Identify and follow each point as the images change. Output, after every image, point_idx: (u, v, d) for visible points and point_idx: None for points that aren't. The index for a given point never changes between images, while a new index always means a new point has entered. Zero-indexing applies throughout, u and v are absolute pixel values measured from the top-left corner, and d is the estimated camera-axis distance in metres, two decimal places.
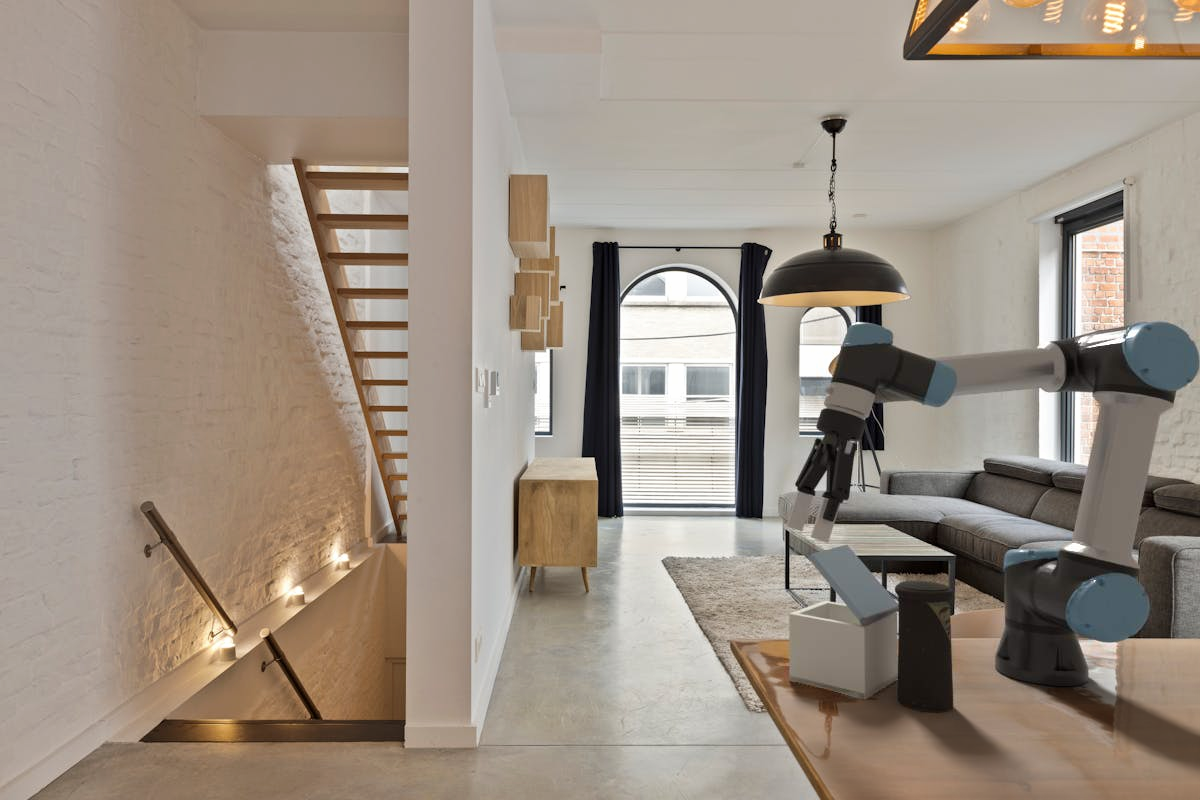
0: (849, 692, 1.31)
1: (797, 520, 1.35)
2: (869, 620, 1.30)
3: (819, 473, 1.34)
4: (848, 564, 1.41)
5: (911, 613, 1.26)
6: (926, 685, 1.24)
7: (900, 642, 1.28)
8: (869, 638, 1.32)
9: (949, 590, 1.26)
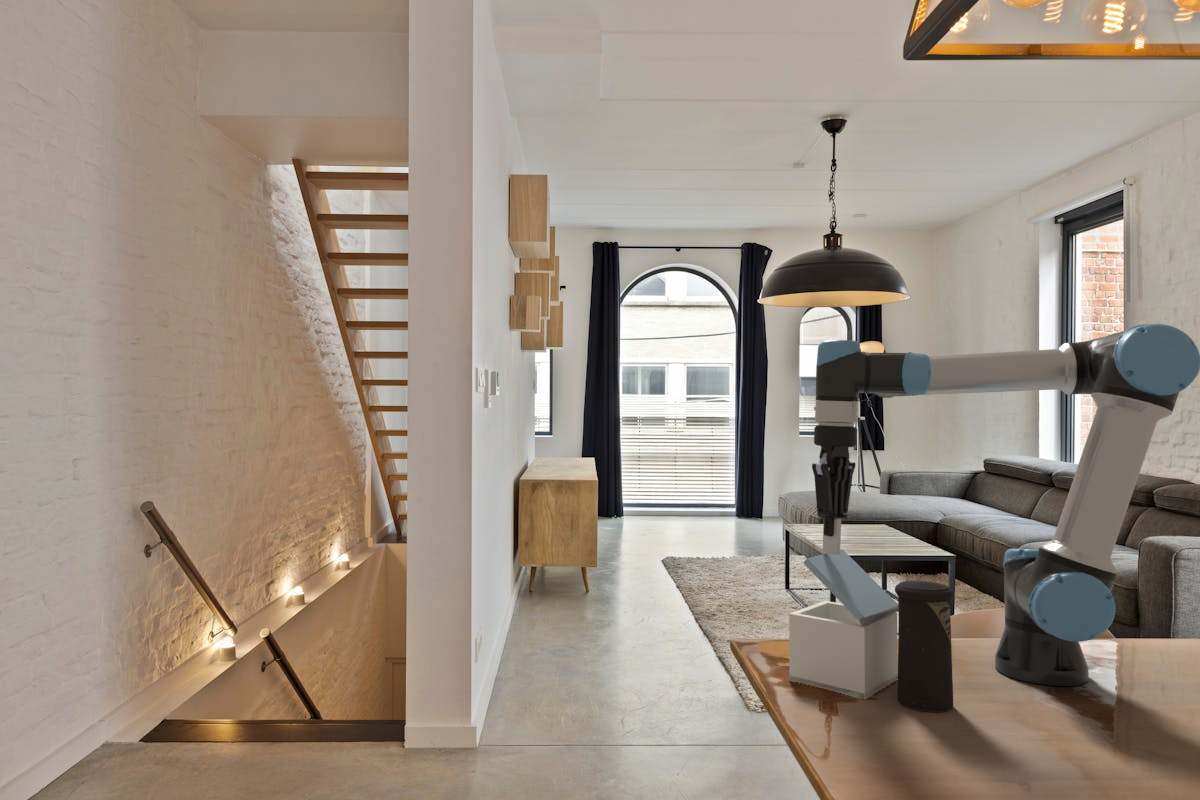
0: (849, 692, 1.31)
1: None
2: (869, 620, 1.30)
3: None
4: (845, 567, 1.42)
5: (911, 613, 1.26)
6: (926, 685, 1.24)
7: (900, 642, 1.28)
8: (869, 638, 1.32)
9: (949, 590, 1.26)
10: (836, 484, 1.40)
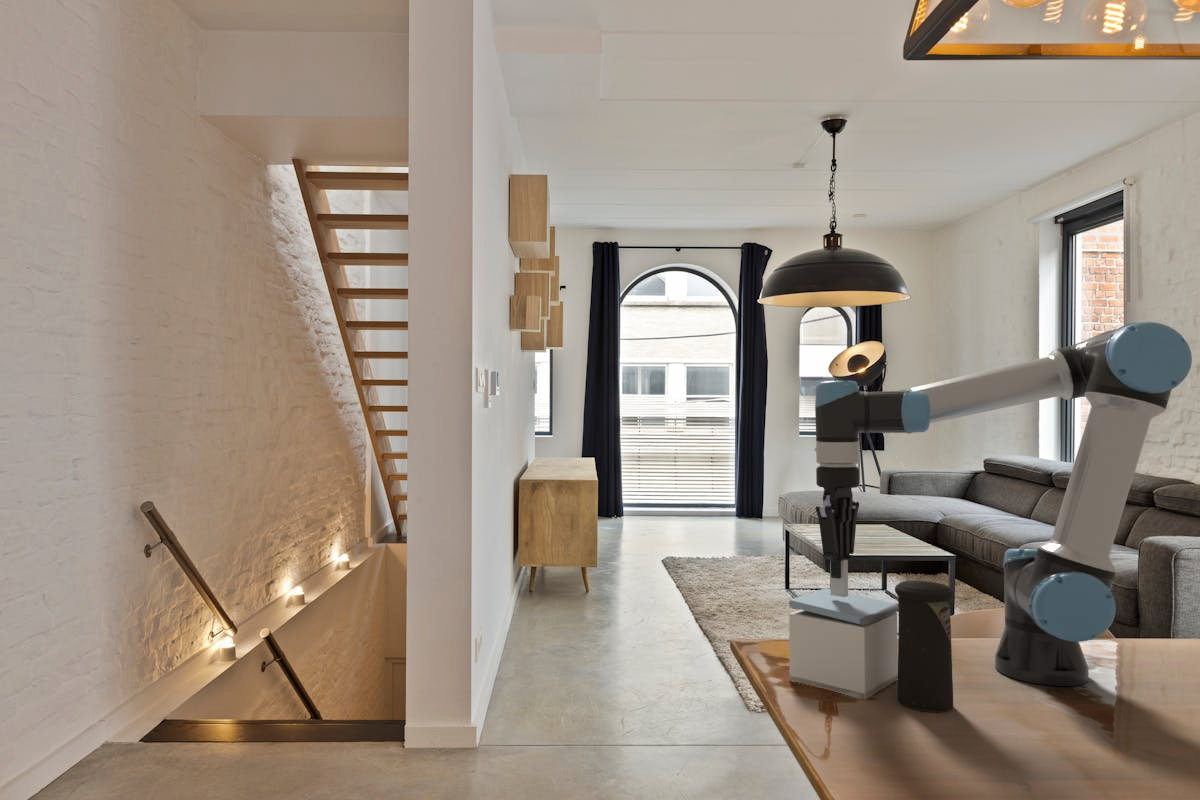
0: (849, 692, 1.31)
1: None
2: (867, 617, 1.30)
3: None
4: (831, 596, 1.43)
5: (911, 613, 1.26)
6: (926, 685, 1.24)
7: (900, 642, 1.28)
8: (869, 638, 1.32)
9: (949, 590, 1.26)
10: (841, 525, 1.39)
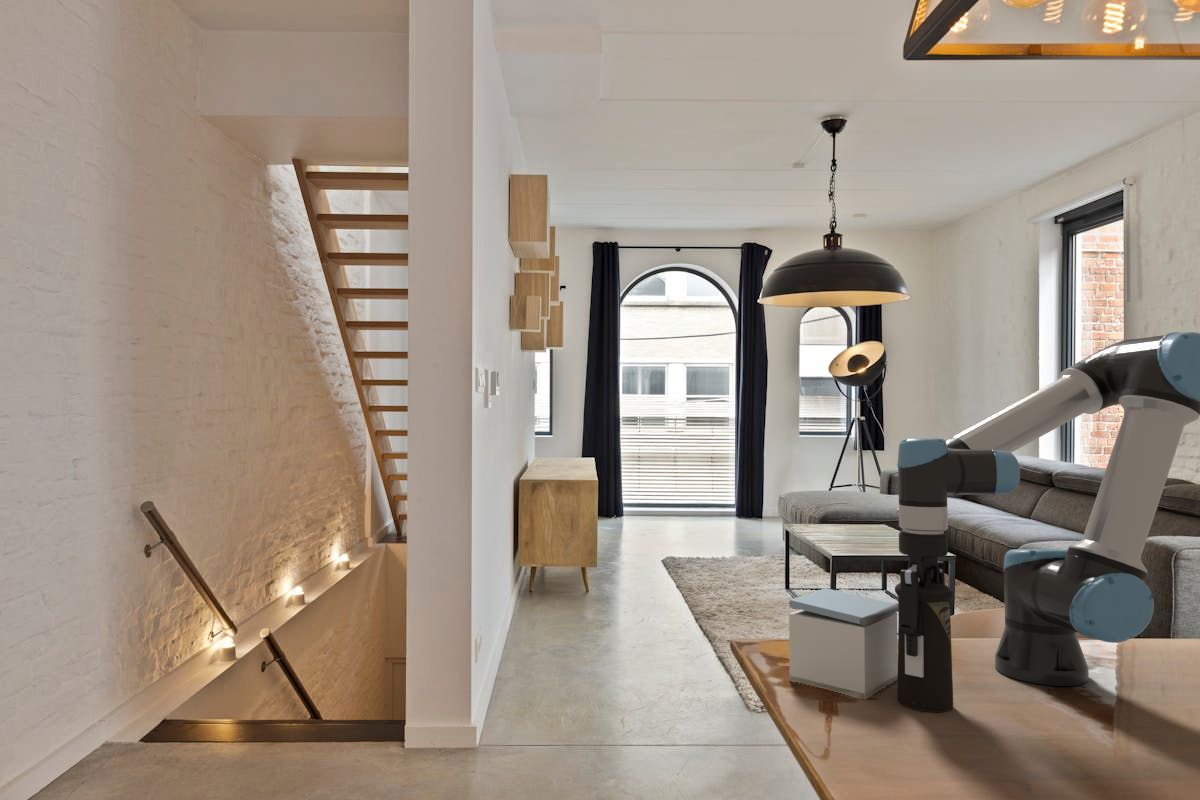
0: (849, 692, 1.31)
1: None
2: (867, 617, 1.30)
3: None
4: (831, 596, 1.43)
5: None
6: (926, 685, 1.24)
7: (900, 642, 1.28)
8: (869, 638, 1.32)
9: (949, 590, 1.26)
10: None
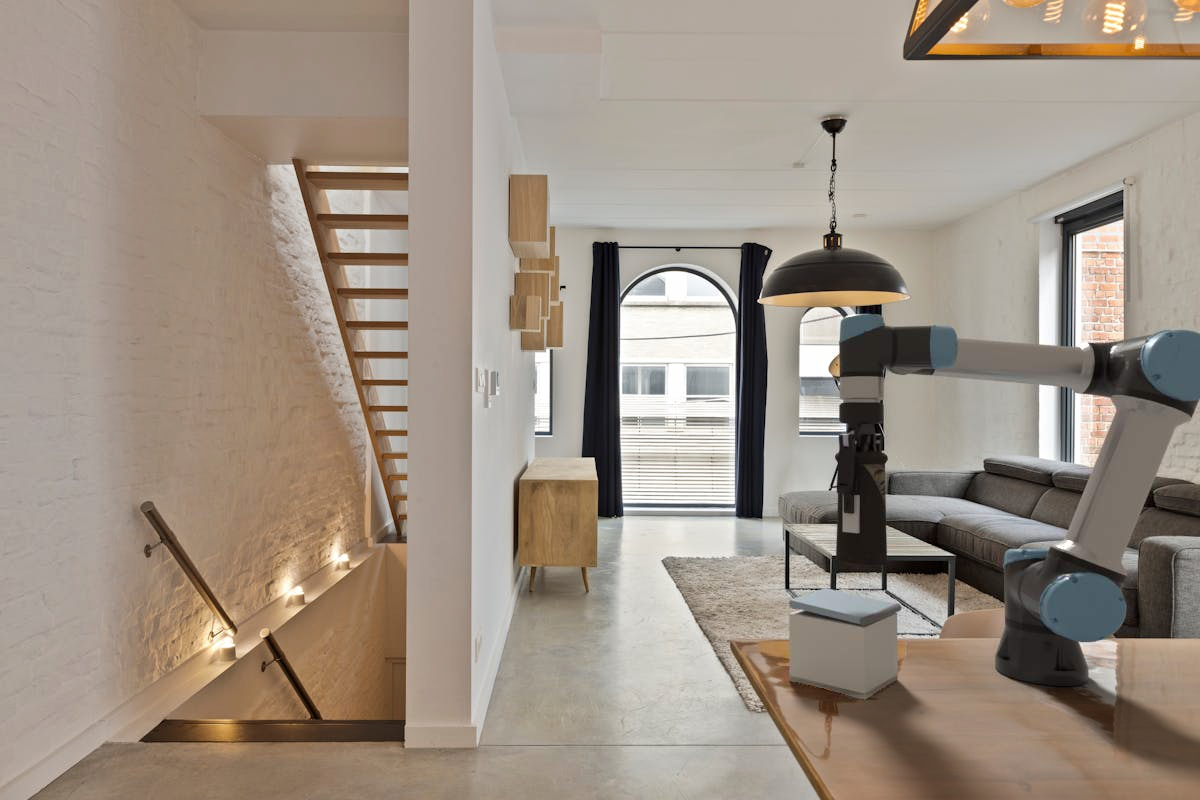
0: (849, 692, 1.31)
1: None
2: (867, 617, 1.30)
3: None
4: (831, 596, 1.43)
5: None
6: (861, 541, 1.34)
7: (839, 504, 1.37)
8: (869, 638, 1.32)
9: (884, 454, 1.35)
10: None
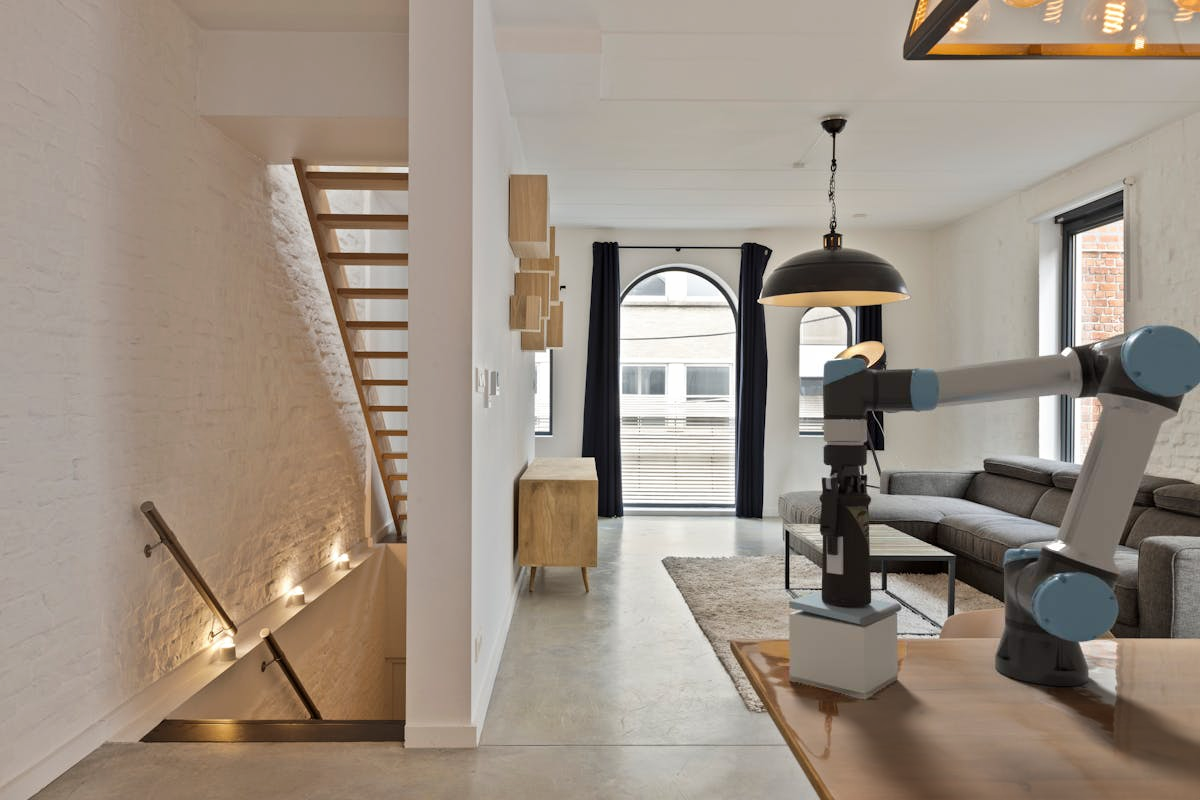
0: (849, 692, 1.31)
1: None
2: (867, 617, 1.30)
3: None
4: None
5: None
6: (845, 582, 1.36)
7: (823, 545, 1.40)
8: (869, 638, 1.32)
9: (867, 496, 1.38)
10: None
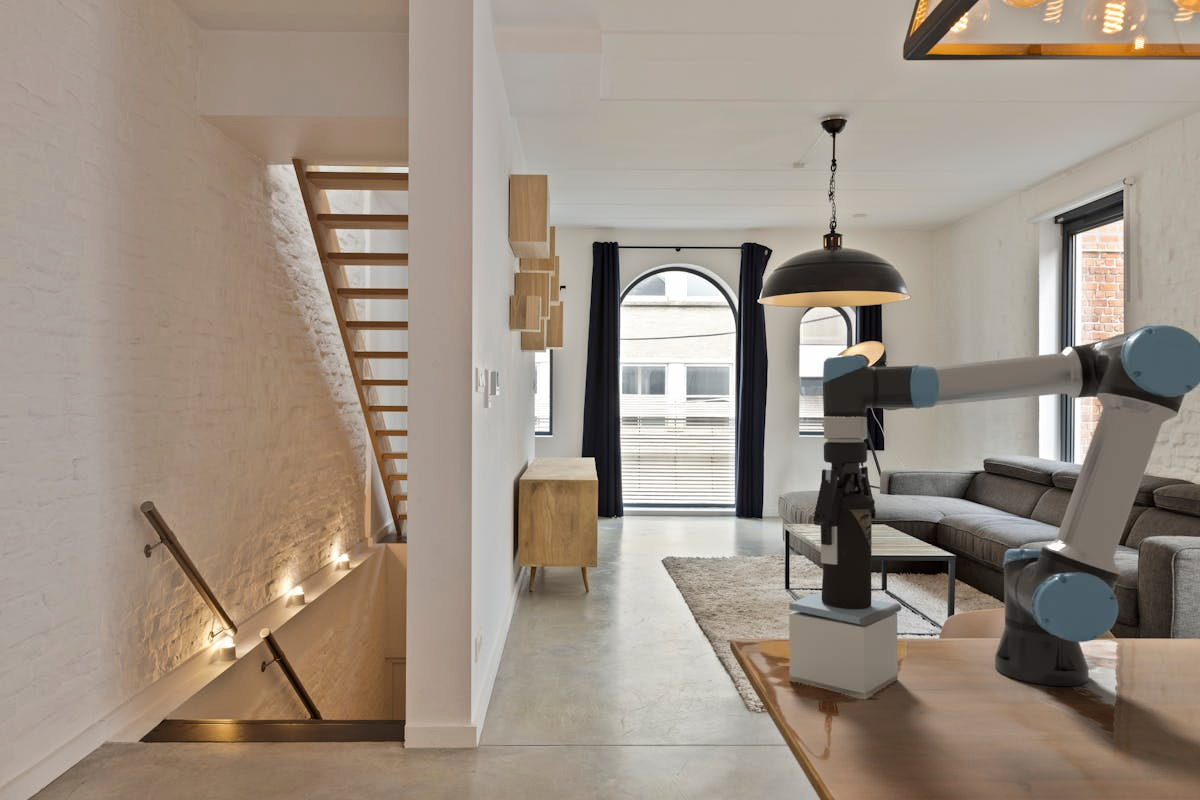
0: (849, 692, 1.31)
1: None
2: (867, 617, 1.30)
3: None
4: None
5: None
6: (845, 584, 1.36)
7: None
8: (869, 638, 1.32)
9: (871, 499, 1.37)
10: (841, 496, 1.36)
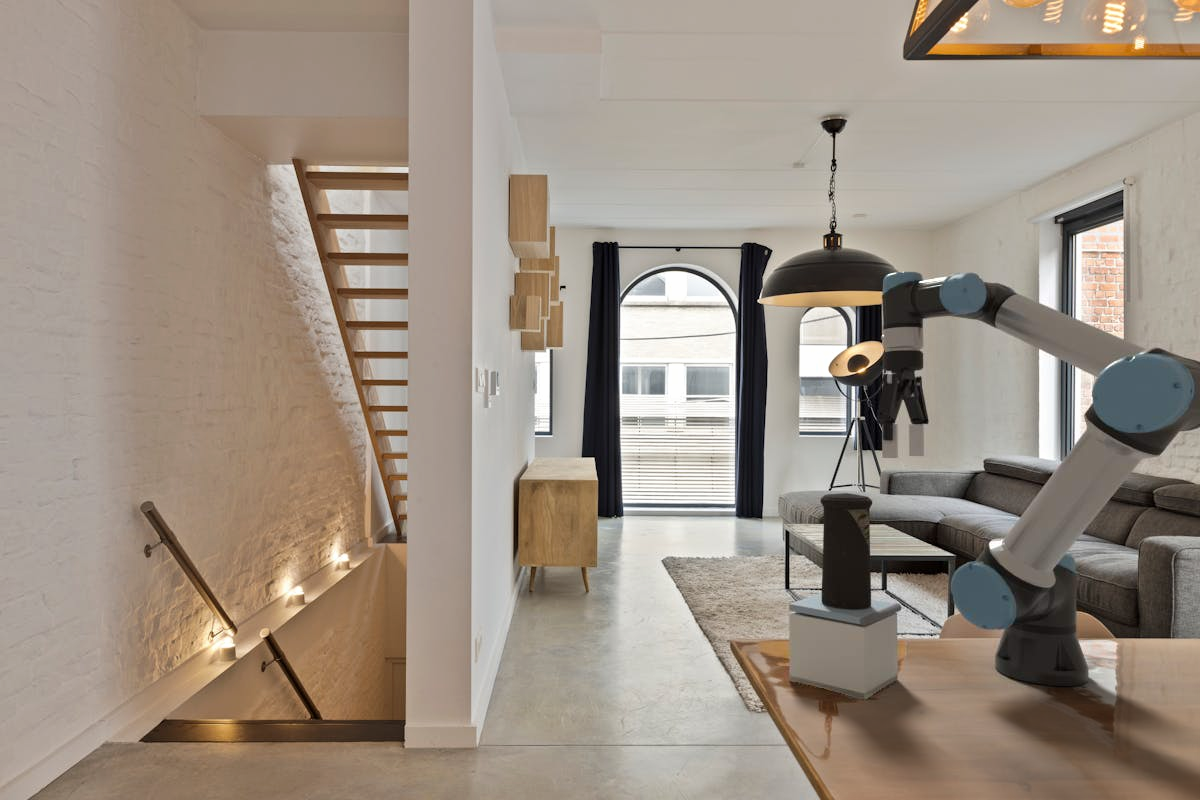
0: (849, 692, 1.31)
1: (915, 448, 1.59)
2: (867, 617, 1.30)
3: (913, 404, 1.57)
4: None
5: (833, 520, 1.37)
6: (845, 584, 1.36)
7: (824, 548, 1.40)
8: (869, 638, 1.32)
9: (868, 499, 1.38)
10: (901, 398, 1.51)
